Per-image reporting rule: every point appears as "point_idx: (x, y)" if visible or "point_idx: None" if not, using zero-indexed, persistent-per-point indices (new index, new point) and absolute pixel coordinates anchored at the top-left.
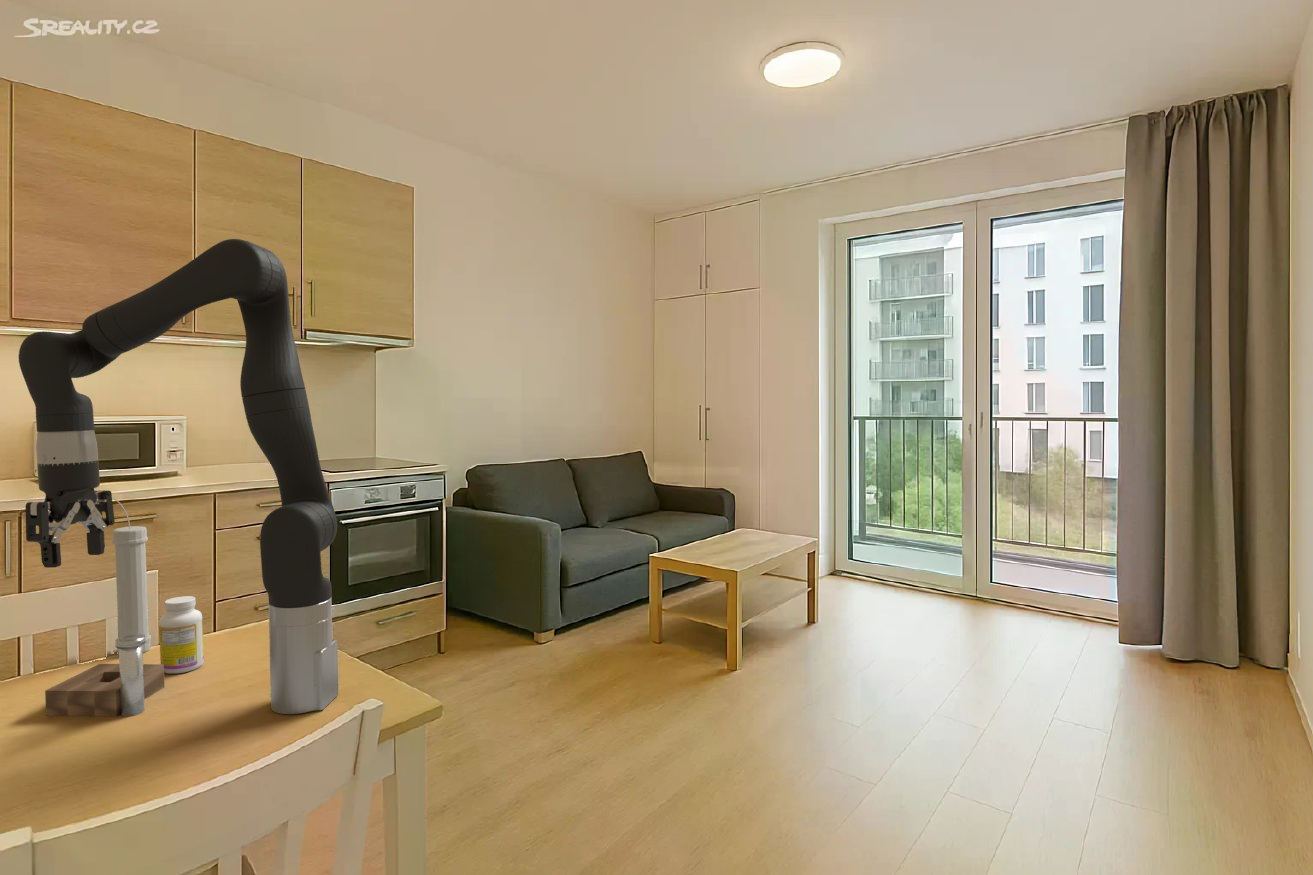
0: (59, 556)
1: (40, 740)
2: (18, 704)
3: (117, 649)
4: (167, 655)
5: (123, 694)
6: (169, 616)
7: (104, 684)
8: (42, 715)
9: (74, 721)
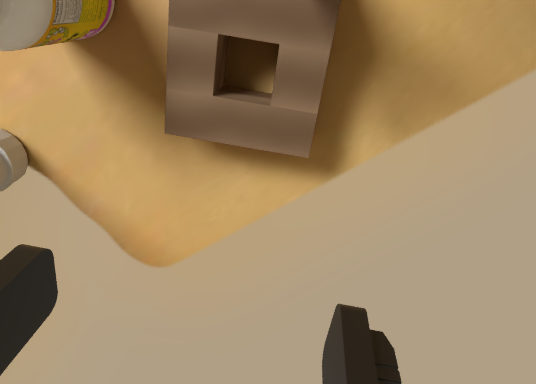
0: (354, 344)
1: (423, 87)
2: (252, 212)
3: (15, 180)
4: (96, 5)
5: None
6: (15, 5)
7: (292, 50)
8: None
9: (347, 72)
